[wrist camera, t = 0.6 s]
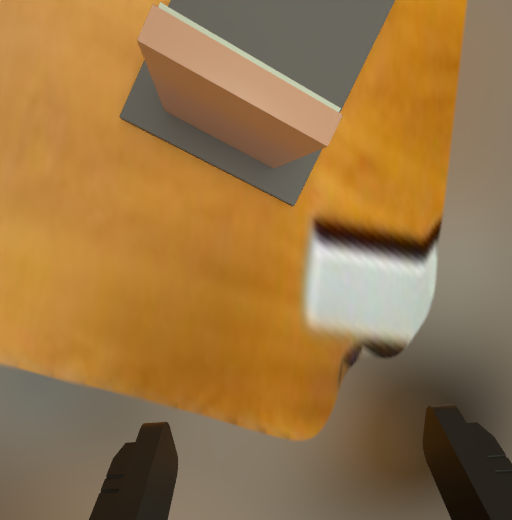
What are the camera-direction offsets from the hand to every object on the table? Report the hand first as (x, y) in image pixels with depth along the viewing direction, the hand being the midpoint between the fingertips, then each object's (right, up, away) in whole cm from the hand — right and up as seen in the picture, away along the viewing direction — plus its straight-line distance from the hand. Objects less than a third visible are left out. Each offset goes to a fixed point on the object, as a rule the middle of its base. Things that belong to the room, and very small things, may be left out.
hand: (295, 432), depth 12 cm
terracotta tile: (-4, +16, +20) cm, 26 cm away
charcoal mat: (-1, +23, +20) cm, 30 cm away
